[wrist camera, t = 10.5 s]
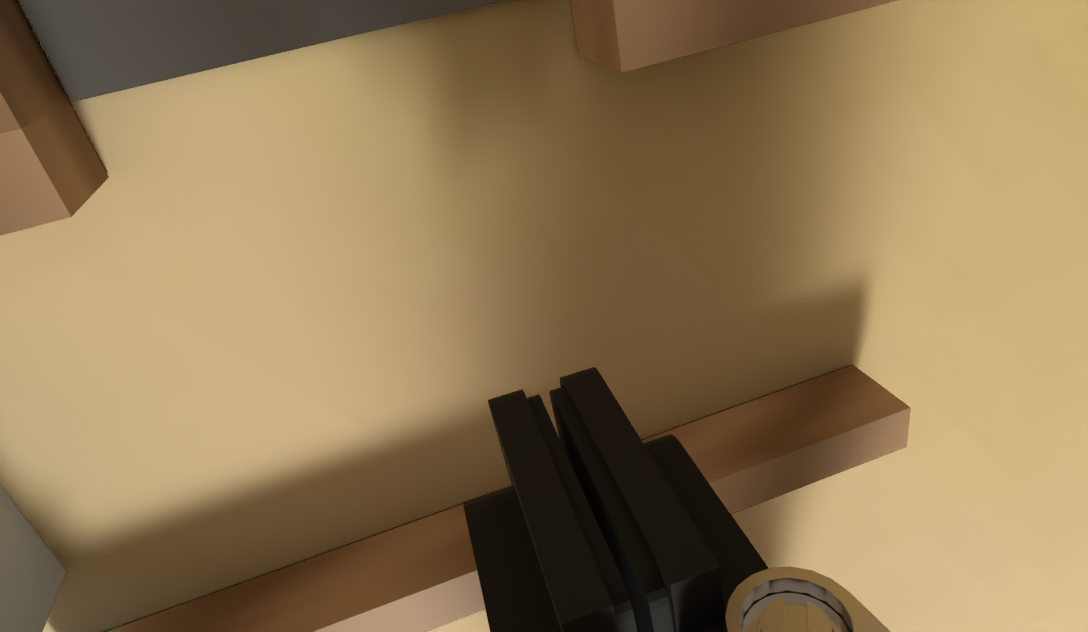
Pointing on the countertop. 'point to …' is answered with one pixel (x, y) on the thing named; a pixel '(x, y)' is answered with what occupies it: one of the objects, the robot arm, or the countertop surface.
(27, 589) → the slate block
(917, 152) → the countertop surface
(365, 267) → the countertop surface
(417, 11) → the brown wooden open frame
